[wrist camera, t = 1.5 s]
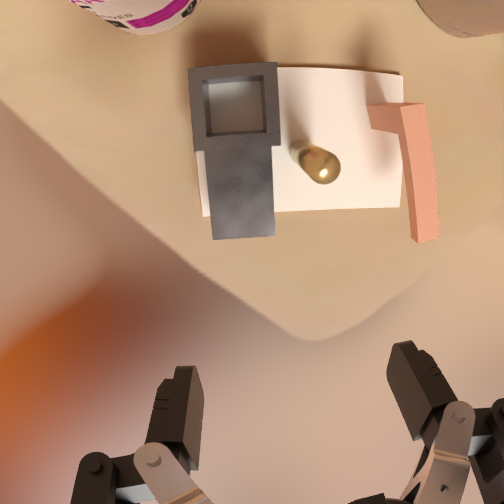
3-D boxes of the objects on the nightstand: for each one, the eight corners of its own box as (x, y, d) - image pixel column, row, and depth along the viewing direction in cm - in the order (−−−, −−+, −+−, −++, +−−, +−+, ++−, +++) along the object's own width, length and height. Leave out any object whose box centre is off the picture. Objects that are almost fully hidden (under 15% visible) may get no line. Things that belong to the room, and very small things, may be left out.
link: (196, 75, 21) (187, 68, 18) (271, 69, 21) (276, 62, 18) (209, 222, 27) (204, 240, 23) (278, 217, 27) (283, 235, 23)
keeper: (364, 106, 23) (399, 106, 17) (384, 102, 23) (423, 103, 17) (385, 215, 27) (418, 243, 21) (403, 209, 27) (439, 236, 21)
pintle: (288, 139, 24) (307, 151, 17) (312, 139, 24) (341, 151, 17) (289, 163, 25) (308, 185, 18) (313, 162, 25) (340, 184, 18)
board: (190, 74, 22) (189, 73, 21) (400, 76, 22) (402, 75, 21) (203, 215, 27) (202, 216, 26) (397, 205, 27) (399, 207, 26)
